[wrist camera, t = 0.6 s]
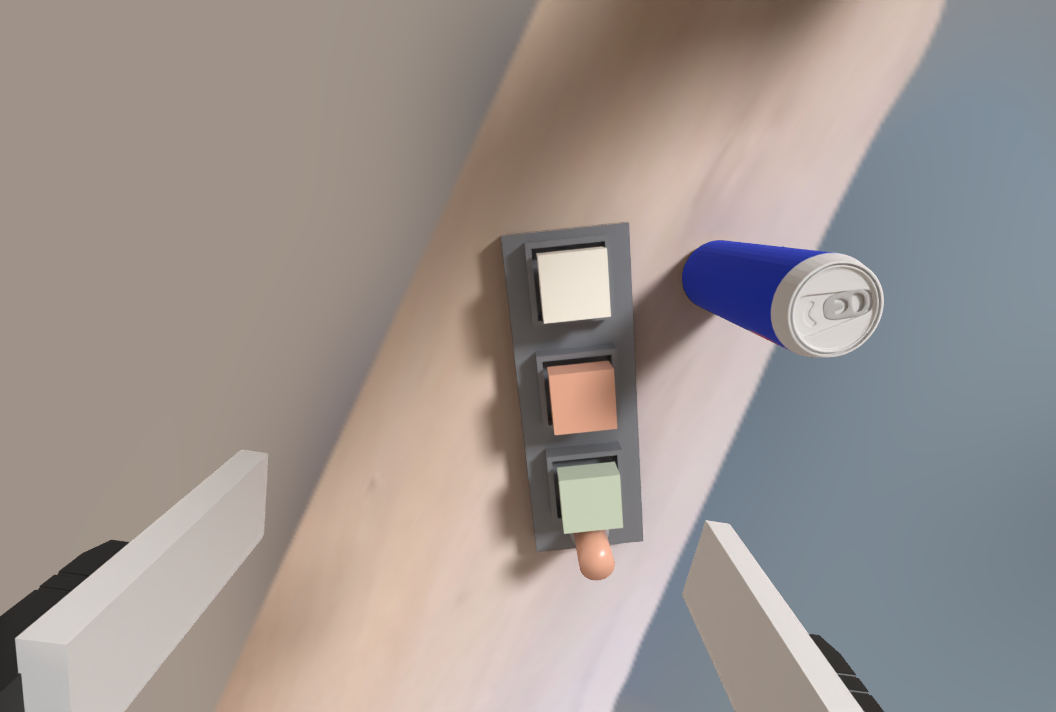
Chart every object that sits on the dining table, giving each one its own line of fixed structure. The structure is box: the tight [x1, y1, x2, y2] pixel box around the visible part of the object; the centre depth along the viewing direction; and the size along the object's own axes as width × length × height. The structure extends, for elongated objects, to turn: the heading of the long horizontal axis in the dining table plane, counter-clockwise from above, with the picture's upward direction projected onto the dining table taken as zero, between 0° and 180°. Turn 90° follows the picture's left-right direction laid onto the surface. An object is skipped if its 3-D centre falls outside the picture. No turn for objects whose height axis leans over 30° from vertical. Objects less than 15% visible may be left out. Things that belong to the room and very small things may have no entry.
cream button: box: [536, 246, 611, 324], centre depth 33 cm, size 4×4×2 cm
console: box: [501, 222, 643, 580], centre depth 37 cm, size 26×9×7 cm, turn 6°
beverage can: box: [682, 240, 884, 357], centre depth 30 cm, size 5×5×15 cm
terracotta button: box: [547, 361, 617, 435], centre depth 35 cm, size 4×4×2 cm
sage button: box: [557, 462, 623, 534], centre depth 37 cm, size 4×4×2 cm
